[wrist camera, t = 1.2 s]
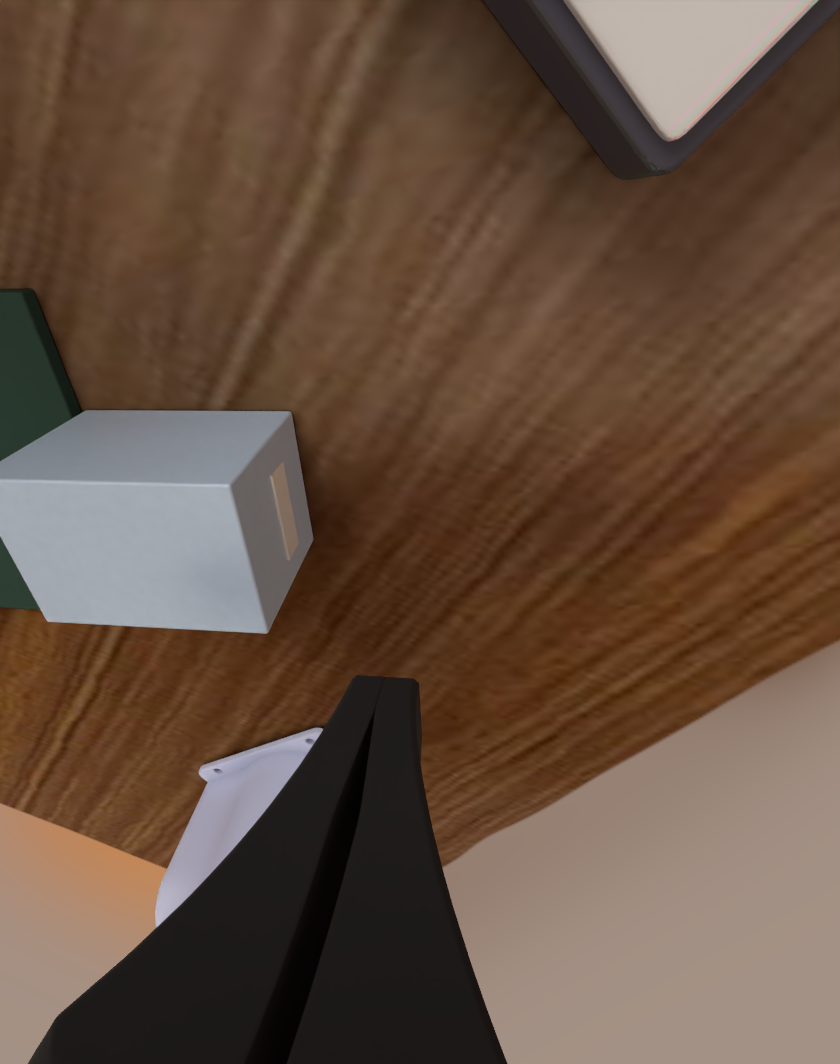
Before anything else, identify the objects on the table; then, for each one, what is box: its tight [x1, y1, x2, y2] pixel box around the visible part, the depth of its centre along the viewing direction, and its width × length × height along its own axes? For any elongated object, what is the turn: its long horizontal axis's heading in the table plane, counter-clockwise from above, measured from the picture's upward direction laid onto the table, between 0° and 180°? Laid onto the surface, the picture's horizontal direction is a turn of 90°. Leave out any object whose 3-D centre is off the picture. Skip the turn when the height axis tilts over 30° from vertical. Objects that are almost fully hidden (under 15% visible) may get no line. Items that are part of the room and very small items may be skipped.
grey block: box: [0, 410, 313, 634], centre depth 19 cm, size 8×6×6 cm
